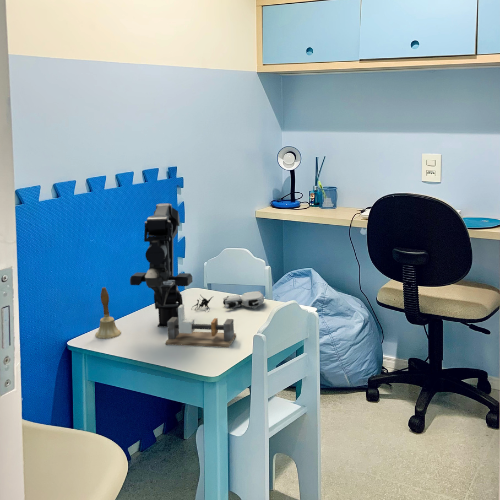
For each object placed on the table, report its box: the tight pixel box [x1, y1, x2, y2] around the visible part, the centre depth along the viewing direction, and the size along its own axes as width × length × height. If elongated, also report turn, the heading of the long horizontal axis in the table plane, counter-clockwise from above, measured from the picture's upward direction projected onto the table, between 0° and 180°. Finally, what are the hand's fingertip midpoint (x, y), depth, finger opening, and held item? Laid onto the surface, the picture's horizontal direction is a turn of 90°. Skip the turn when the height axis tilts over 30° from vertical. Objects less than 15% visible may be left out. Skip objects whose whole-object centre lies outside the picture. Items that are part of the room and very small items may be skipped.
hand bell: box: [94, 286, 122, 340], centre depth 210 cm, size 8×8×16 cm
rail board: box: [165, 317, 237, 348], centre depth 202 cm, size 20×10×7 cm, turn 79°
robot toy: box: [222, 290, 265, 309], centre depth 237 cm, size 12×4×15 cm
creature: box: [191, 295, 214, 313], centre depth 234 cm, size 8×5×8 cm
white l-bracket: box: [178, 304, 196, 333], centre depth 202 cm, size 4×4×8 cm
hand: (162, 305), depth 203 cm, fingers closed
